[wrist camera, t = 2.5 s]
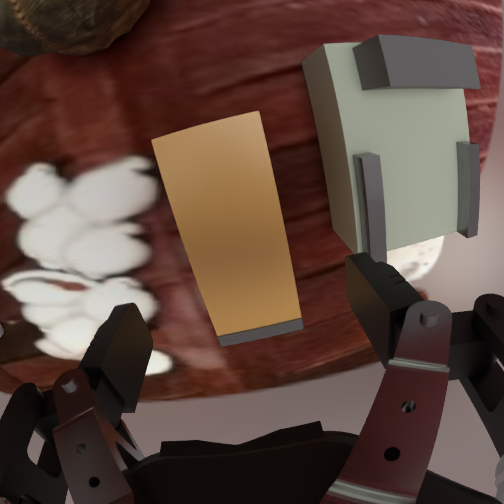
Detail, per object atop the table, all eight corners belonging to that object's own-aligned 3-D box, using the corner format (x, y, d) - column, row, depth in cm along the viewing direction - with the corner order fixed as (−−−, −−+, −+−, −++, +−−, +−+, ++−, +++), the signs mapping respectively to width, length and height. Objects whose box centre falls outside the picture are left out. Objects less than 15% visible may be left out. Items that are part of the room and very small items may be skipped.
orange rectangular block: (175, 134, 18) (150, 140, 12) (250, 114, 18) (258, 110, 12) (222, 293, 23) (221, 346, 17) (286, 278, 23) (303, 328, 17)
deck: (301, 61, 16) (344, 28, 9) (413, 58, 16) (486, 44, 9) (332, 228, 21) (379, 284, 14) (431, 205, 21) (496, 245, 14)
